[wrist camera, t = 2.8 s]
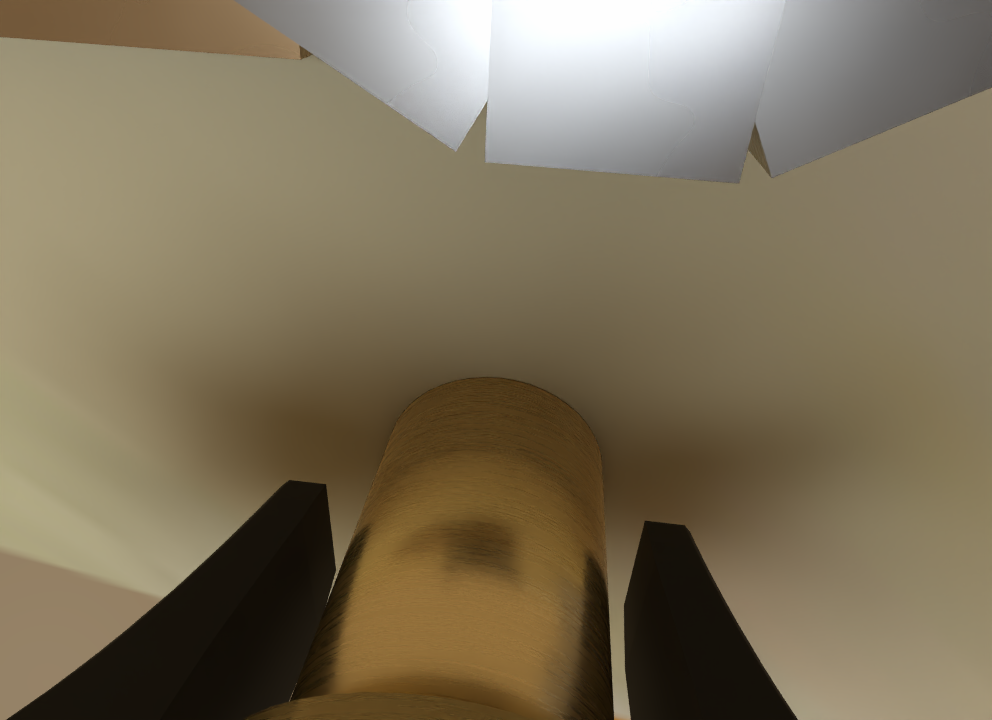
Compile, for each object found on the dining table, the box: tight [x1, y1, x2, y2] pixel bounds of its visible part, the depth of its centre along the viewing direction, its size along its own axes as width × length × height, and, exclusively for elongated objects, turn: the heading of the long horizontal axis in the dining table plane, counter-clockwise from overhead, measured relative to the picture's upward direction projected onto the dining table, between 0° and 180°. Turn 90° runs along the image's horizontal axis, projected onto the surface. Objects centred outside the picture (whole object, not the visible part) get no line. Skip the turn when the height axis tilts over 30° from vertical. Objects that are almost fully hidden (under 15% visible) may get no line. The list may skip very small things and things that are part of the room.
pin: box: [243, 378, 614, 720], centre depth 9 cm, size 5×5×7 cm
